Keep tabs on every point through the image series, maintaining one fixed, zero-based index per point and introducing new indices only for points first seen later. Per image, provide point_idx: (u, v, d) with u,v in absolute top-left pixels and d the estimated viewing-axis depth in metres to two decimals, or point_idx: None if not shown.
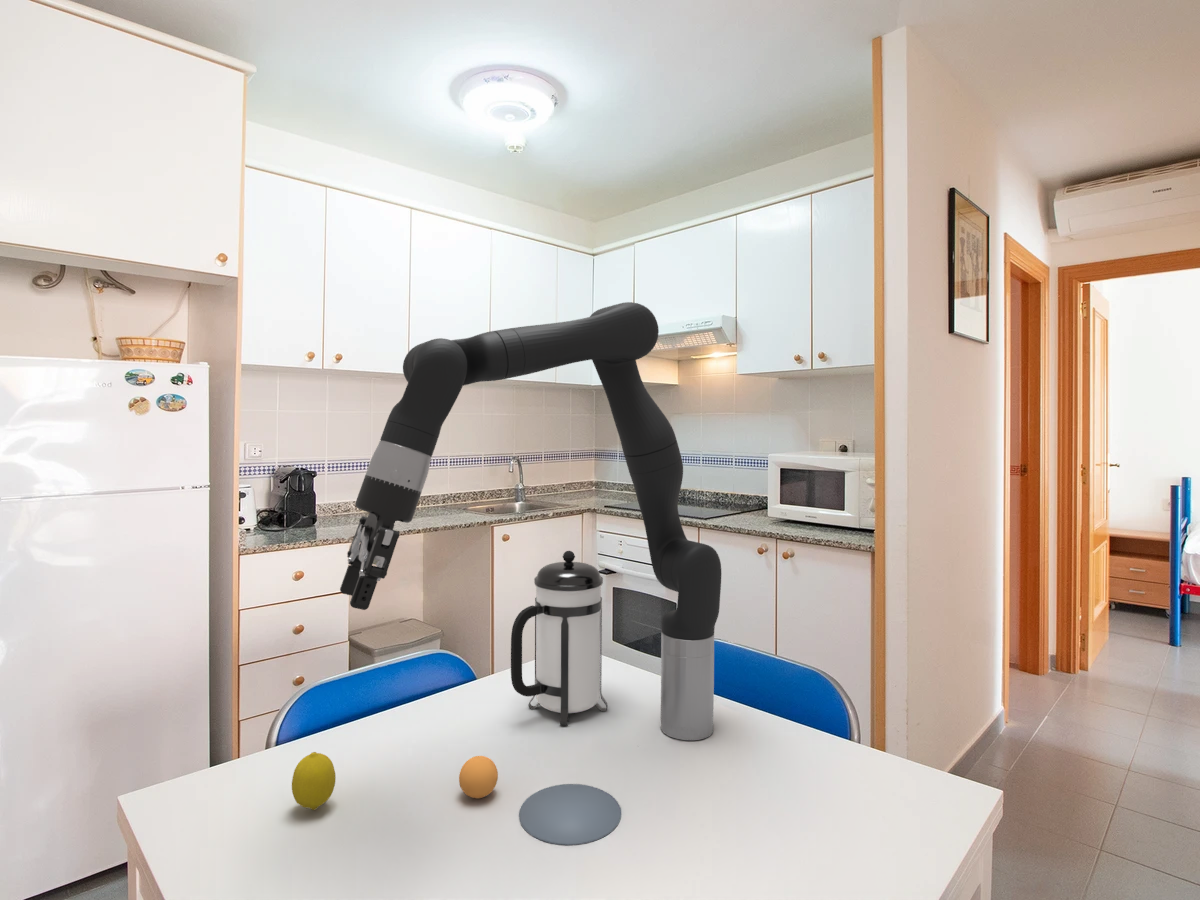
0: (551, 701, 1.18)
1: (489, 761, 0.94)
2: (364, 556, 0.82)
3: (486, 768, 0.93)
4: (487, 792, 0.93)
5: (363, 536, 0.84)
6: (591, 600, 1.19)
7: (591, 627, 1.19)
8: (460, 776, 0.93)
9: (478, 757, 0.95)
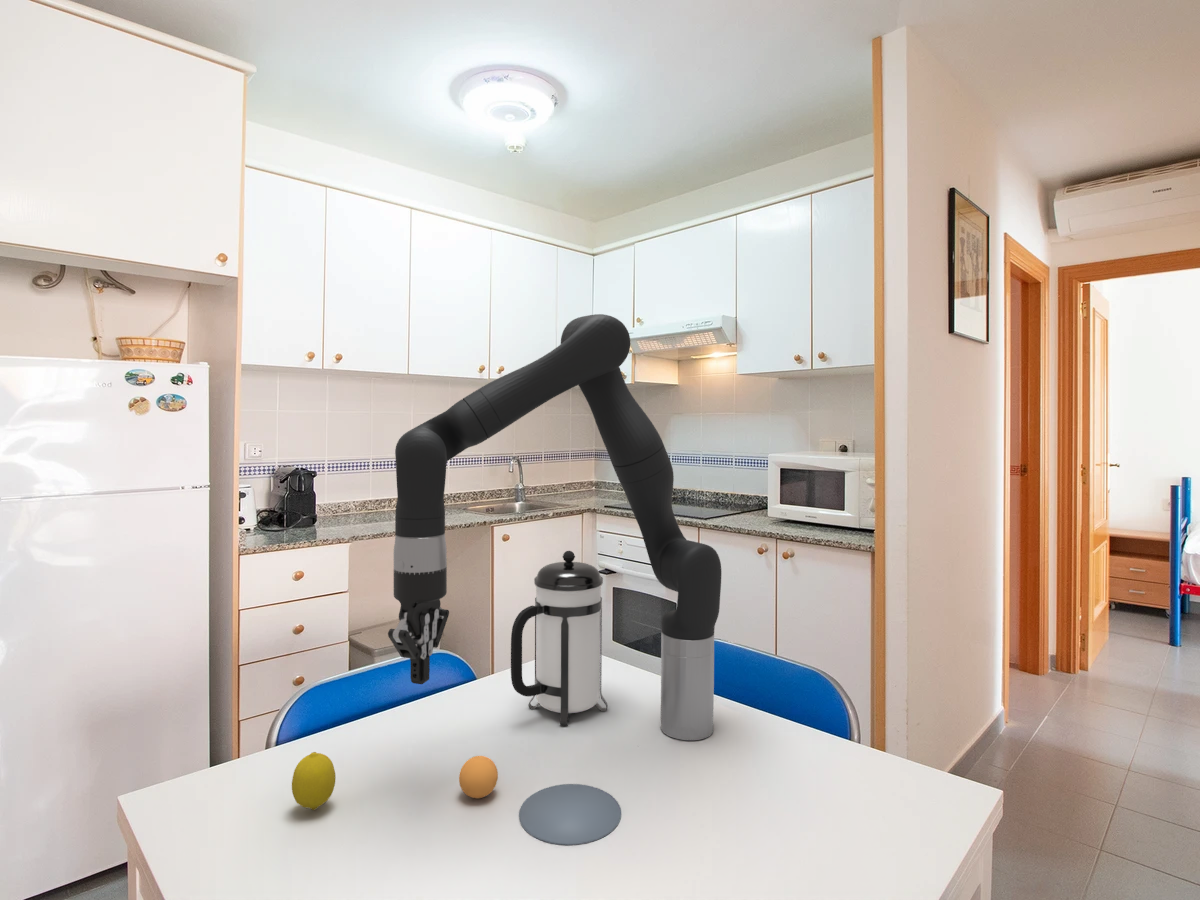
0: (551, 701, 1.18)
1: (489, 761, 0.94)
2: None
3: (486, 768, 0.93)
4: (487, 792, 0.93)
5: None
6: (591, 600, 1.19)
7: (591, 627, 1.19)
8: (460, 776, 0.93)
9: (478, 757, 0.95)
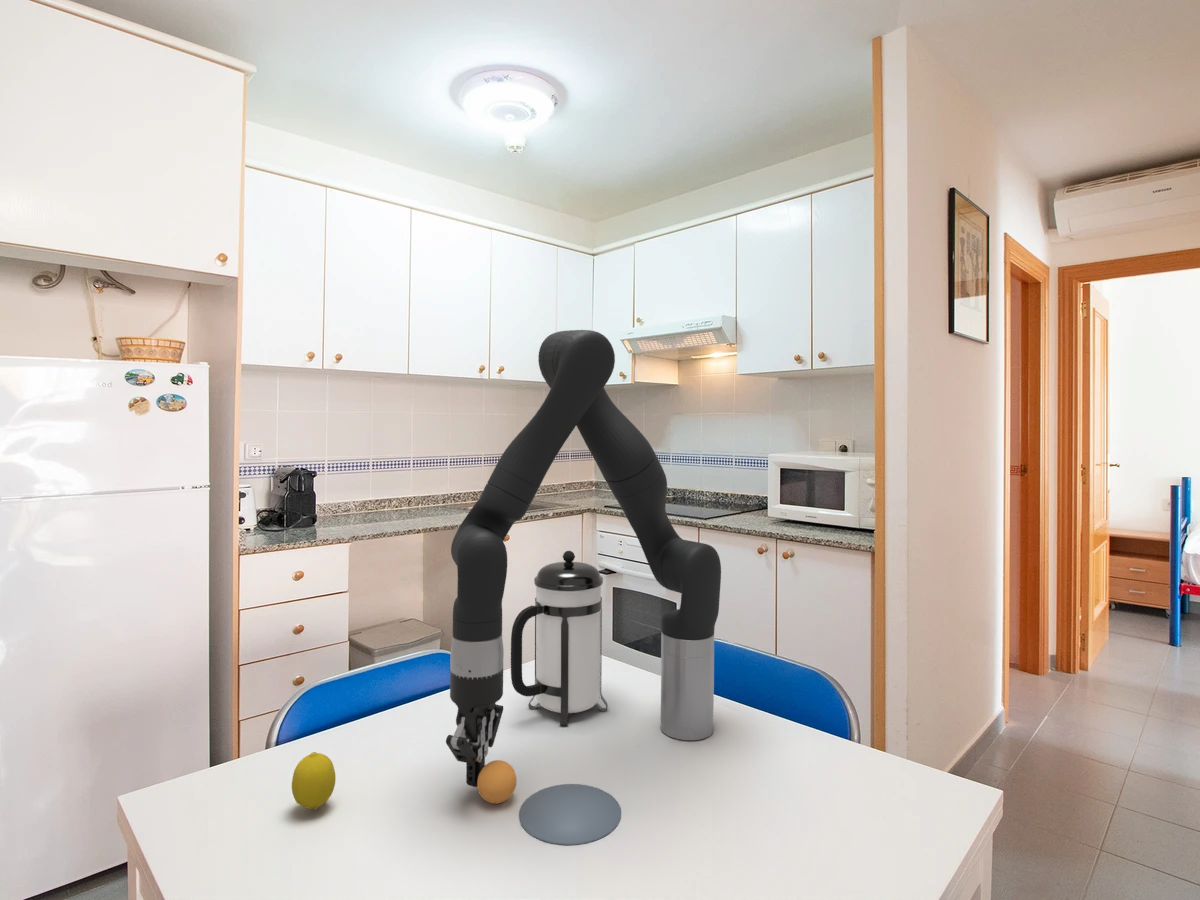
0: (551, 701, 1.18)
1: (515, 780, 0.93)
2: None
3: (510, 789, 0.92)
4: None
5: None
6: (591, 600, 1.19)
7: (591, 627, 1.19)
8: (485, 775, 0.92)
9: (509, 771, 0.93)
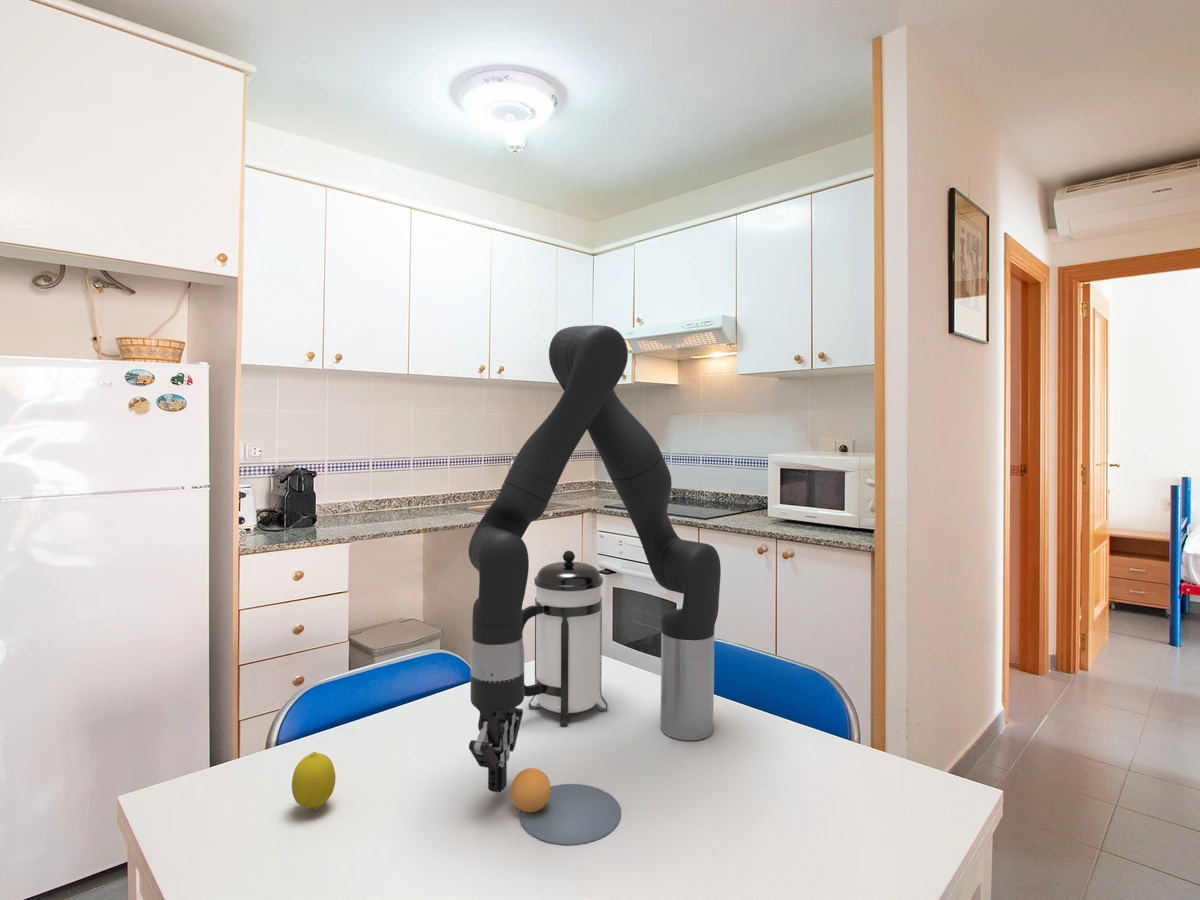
0: (551, 701, 1.18)
1: None
2: None
3: None
4: None
5: None
6: (591, 600, 1.19)
7: (591, 627, 1.19)
8: (534, 799, 0.89)
9: None
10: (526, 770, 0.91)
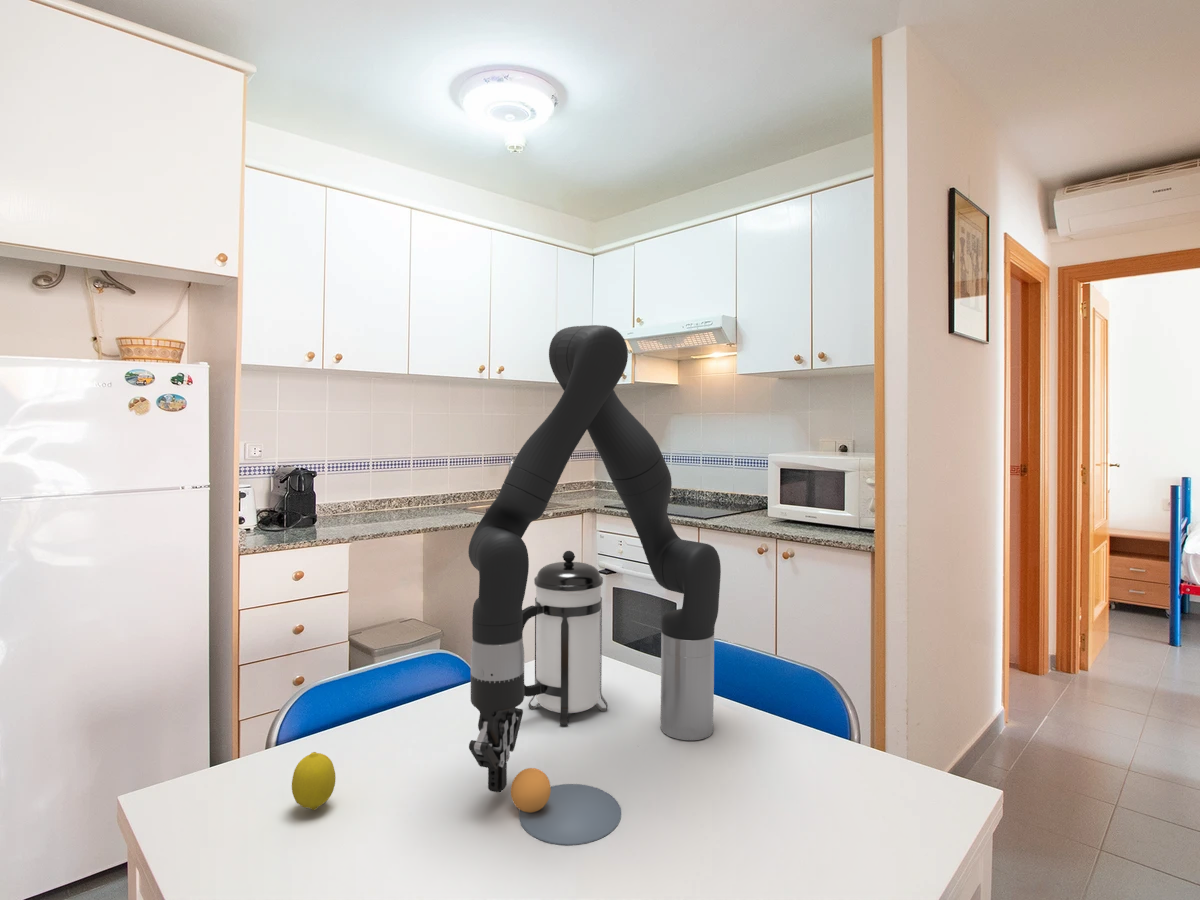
0: (551, 701, 1.18)
1: None
2: None
3: None
4: None
5: None
6: (591, 600, 1.19)
7: (591, 627, 1.19)
8: (534, 799, 0.89)
9: None
10: (526, 770, 0.91)
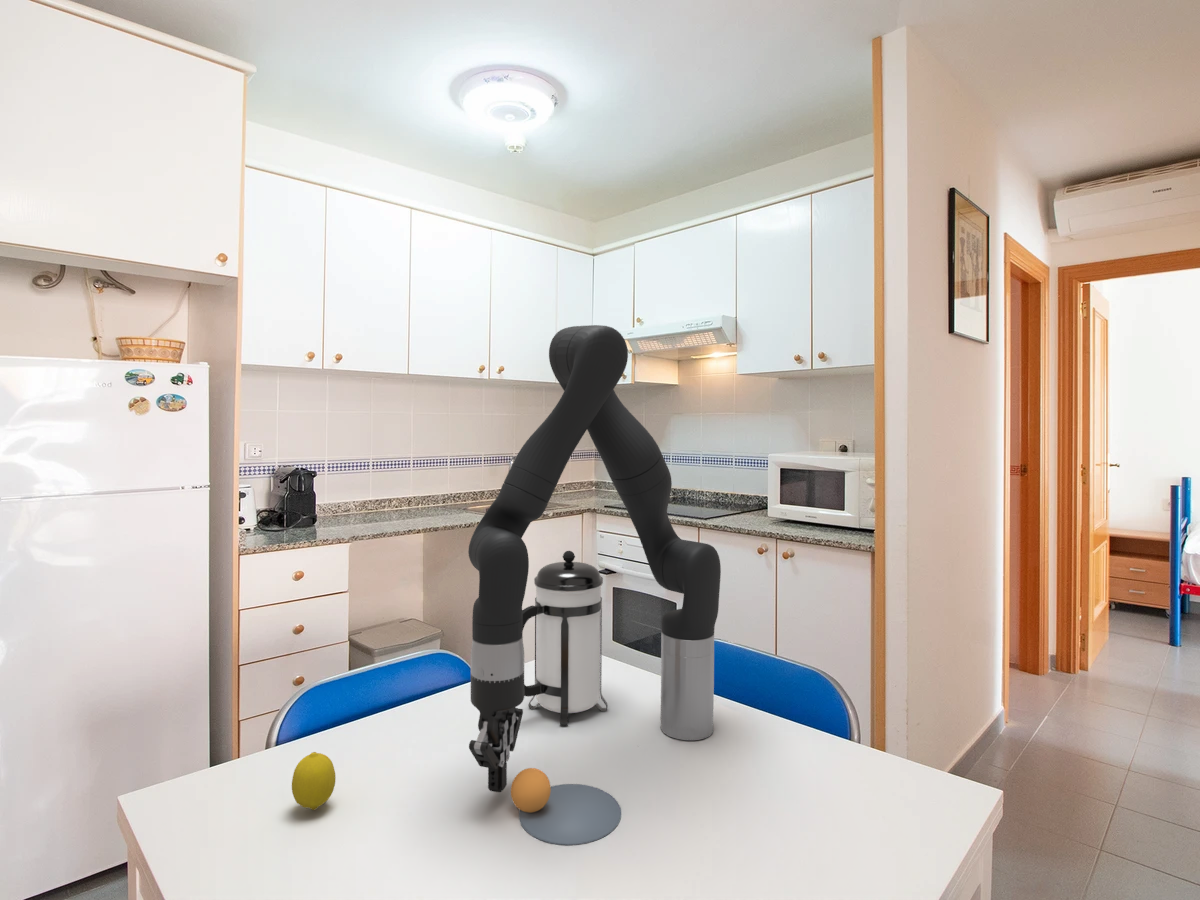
0: (551, 701, 1.18)
1: None
2: None
3: None
4: None
5: None
6: (591, 600, 1.19)
7: (591, 627, 1.19)
8: (534, 799, 0.89)
9: None
10: (526, 770, 0.91)
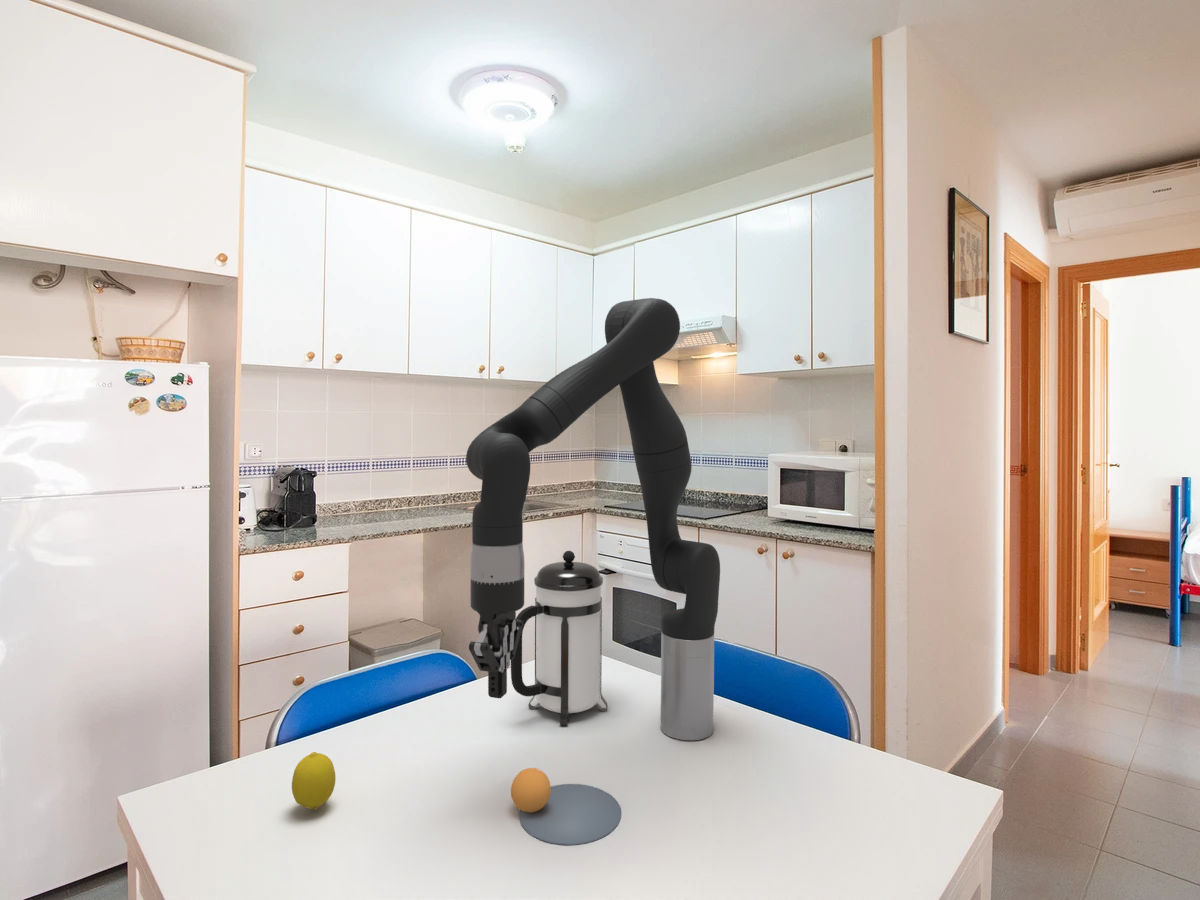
0: (551, 701, 1.18)
1: None
2: None
3: None
4: None
5: None
6: (591, 600, 1.19)
7: (591, 627, 1.19)
8: (534, 799, 0.89)
9: None
10: (526, 770, 0.91)
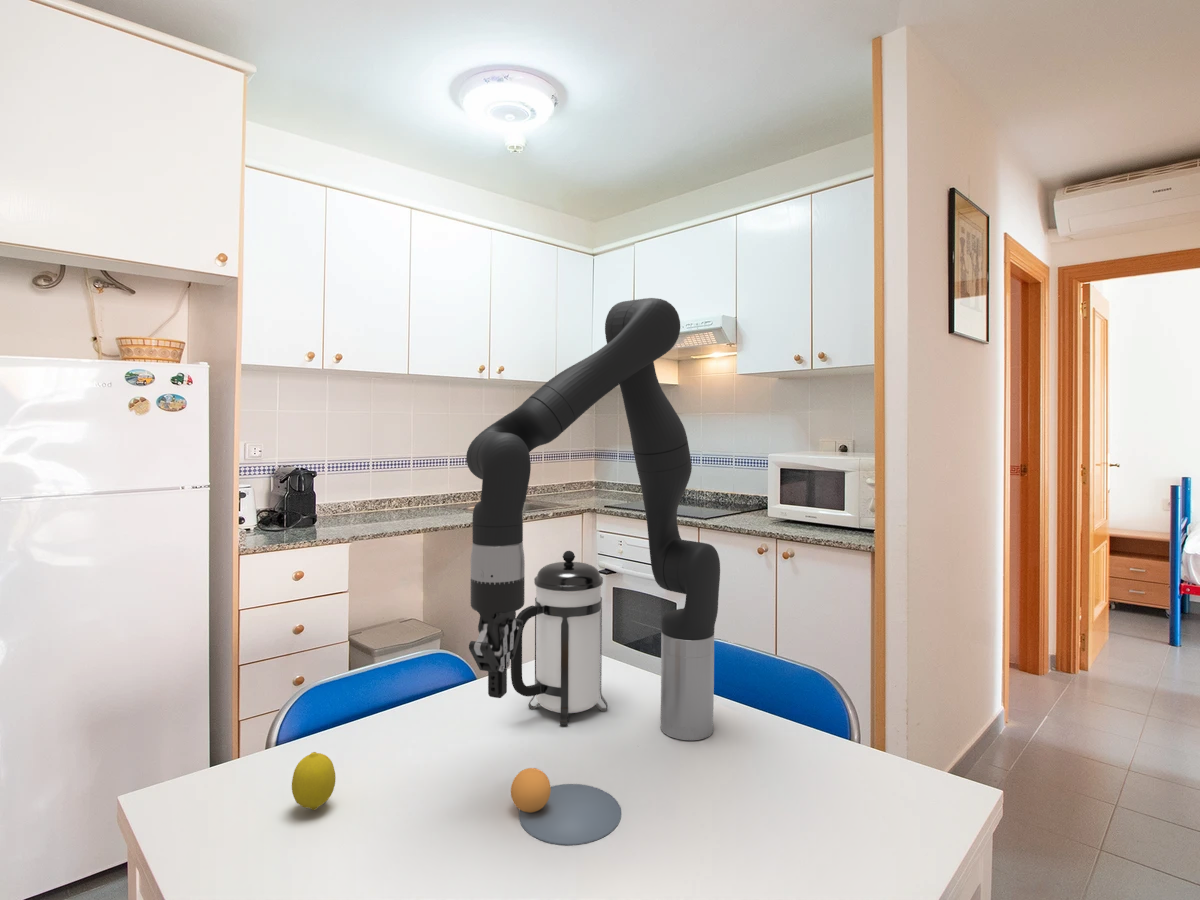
0: (551, 701, 1.18)
1: None
2: None
3: None
4: None
5: None
6: (591, 600, 1.19)
7: (591, 627, 1.19)
8: (534, 799, 0.89)
9: None
10: (526, 770, 0.91)
